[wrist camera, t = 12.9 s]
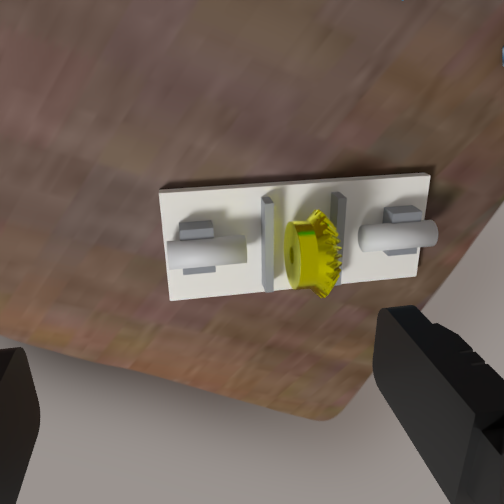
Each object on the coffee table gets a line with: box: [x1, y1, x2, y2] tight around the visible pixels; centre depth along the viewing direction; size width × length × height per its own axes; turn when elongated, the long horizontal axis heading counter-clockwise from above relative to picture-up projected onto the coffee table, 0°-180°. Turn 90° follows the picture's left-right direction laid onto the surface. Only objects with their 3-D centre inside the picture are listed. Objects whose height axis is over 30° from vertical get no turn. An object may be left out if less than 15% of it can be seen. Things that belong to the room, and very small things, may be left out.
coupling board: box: [159, 172, 438, 301], centre depth 45 cm, size 26×11×4 cm, turn 91°
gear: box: [284, 209, 342, 298], centre depth 42 cm, size 8×4×8 cm, turn 0°
